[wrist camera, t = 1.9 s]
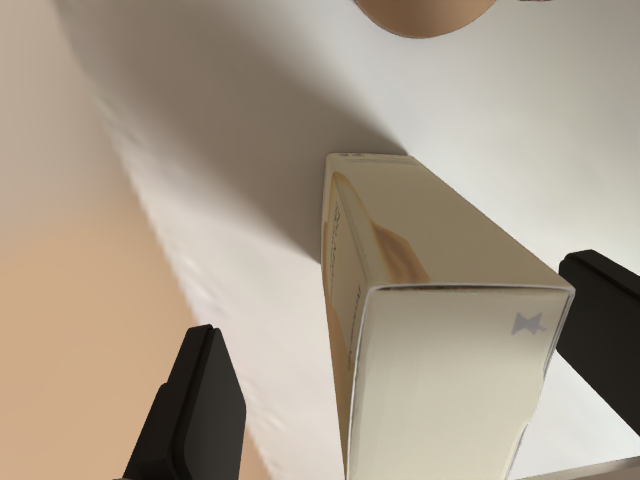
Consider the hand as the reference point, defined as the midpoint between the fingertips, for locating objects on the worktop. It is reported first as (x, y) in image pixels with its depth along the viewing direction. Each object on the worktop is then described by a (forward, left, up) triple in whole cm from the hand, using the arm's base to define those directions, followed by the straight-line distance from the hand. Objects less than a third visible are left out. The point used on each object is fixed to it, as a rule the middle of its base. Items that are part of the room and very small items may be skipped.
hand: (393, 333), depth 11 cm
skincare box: (-1, 0, -10) cm, 10 cm away
